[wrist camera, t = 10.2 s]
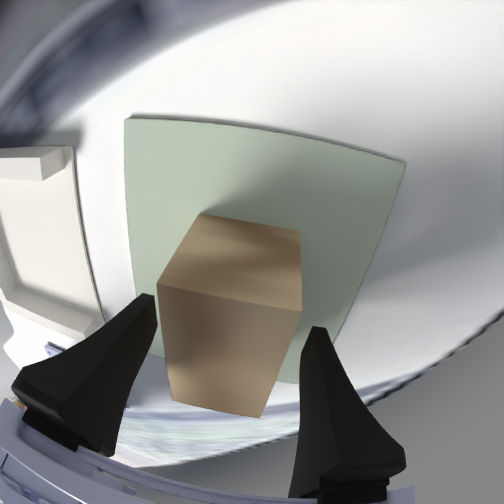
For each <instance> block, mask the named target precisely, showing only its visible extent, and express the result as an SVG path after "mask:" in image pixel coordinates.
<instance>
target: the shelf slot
mask: <svg viewBox="0 0 504 504" xmlns="http://www.w3.org/2000/svg"><path fill="white" fill-rule="evenodd" d="M0 299H1V301H2V304H3V306H5V307H6V308H8V309H10V310H12V311H14V312H16V313H18V314H20V315H22V316H24V317H26V318H28V319H30V320H32V321H34V322H36V323H39V324H41V325H43V326H45V327H47V328H50V329H52V330H54V331H57V332H59V333H61V334H64V335H66V336H68V337H71V338H73V339H76V340H78V341H82V340H84V339H86V338H87V337H89V336H90V335H91V334H93V333H94V332H96V330H97V329H98V327H100V328H101V327H102V326H103V325H105V321H104V318H103V315H102V311H101V308H100V304H99V301H98V297H97V294H96V290H95V286H94V282H93V278H92V274H91V269H90V265H89V260H88V256H87V251H86V246H85V241H84V235H83V230H82V224H81V218H80V211H79V204H78V196H77V188H76V178H75V167H74V154H73V146H36V147H15V148H0Z"/></svg>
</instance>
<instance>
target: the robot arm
mask: <svg viewBox="0 0 504 504" xmlns="http://www.w3.org/2000/svg"><path fill="white" fill-rule="evenodd" d="M157 327H158V321H157V313H156V305H155V297H154V295H150V294H146V293H141V294H140V295H139V296H138V297H137V298H136V299H134V300H133V301H132V302H131V303H130V304H129V305H128V306H126V307H125V308H124V309H123V310H122V311H121V312H119V313H118V314H117V315H116V316H115V317H113V318H112V319H111V320H110V321H109V322H107V323H106V324H105V325H103V326H102V327H101V328H100V329H98V330H97V331H96V332H94V333H93V334H91V335H90V336H89V337H87V338H86V339H84V340H82V341H81V342H79V343H78V344H76V345H74V346H72V347H71V348H69V349H67V350H65V351H61V350H58V349H56V348H54V347H52V346H50V345H47V344H46V345H45V346H44V348H45V350H46V352H47V353H48V355H49V357H50V358H48V359H45V360H43V361H40V362H37V363H34V364H31V365H28V366H25V367H23V368H22V369H21V371H20V373H19V374H18V376H17V377H16V379H15V381H14V383H13V384H12V386H11V388H12V391H13V392H14V394H15V395H16V396H17V397H18V398H19V399H20V400H21V401H22V403H23V404H24V405H25V406H26V407H27V409H26V411H24V410H22V409H21V408H20V407H18V406H17V405H15V404H14V403H13V402H11V401H10V400H8V399H7V398H5V399H4V401H3V402H2V404H1V406H0V500H1V502H2V504H157V503H154V502H151V501H147V500H144V499H141V498H138V497H135V495H136V490H135V489H133V488H131V487H129V486H127V485H125V484H124V483H123V482H121V481H118V480H116V479H114V478H112V477H110V476H108V475H105V474H103V472H102V471H104V472H107V473H109V474H112V475H114V476H116V477H119V478H121V479H124V480H127V481H129V482H132V483H135V484H138V485H141V486H144V487H147V488H150V489H153V490H156V491H160V492H163V493H166V494H170V495H174V496H177V497H182V498H186V499H190V500H194V501H199V502H203V503H208V504H415V490H414V486H408V487H403V488H397V489H392V490H388V491H387V489H386V486H388V485H389V478H390V477H392V476H394V475H396V474H398V473H400V472H401V471H403V470H404V469H405V468H406V458H405V452H404V449H403V447H402V446H401V445H400V444H398V443H397V442H396V441H395V440H394V439H393V438H392V437H391V436H390V435H389V434H388V433H387V432H386V431H385V430H384V429H383V428H382V427H381V426H380V424H379V423H378V422H377V420H376V419H375V418H374V417H373V415H372V414H371V413H370V412H369V410H368V409H367V407H366V406H365V405H364V403H363V402H362V400H361V399H360V397H359V395H358V394H357V392H356V391H355V389H354V387H353V385H352V384H351V382H350V380H349V378H348V376H347V374H346V372H345V370H344V368H343V366H342V364H341V362H340V360H339V358H338V356H337V353H336V351H335V349H334V346H333V344H332V341H331V339H330V336H329V334H328V331H327V329H326V328H325V327H317V326H312V328H311V331H310V333H309V335H308V338H307V340H306V342H305V345H304V347H303V349H302V352H301V356H300V368H299V390H300V426H299V436H298V444H297V452H296V458H295V465H294V471H293V476H292V481H291V486H290V490H289V494H288V498H276V497H263V496H254V495H245V494H237V493H230V492H225V491H219V490H213V489H208V488H203V487H198V486H194V485H190V484H186V483H182V482H177V481H174V480H170V479H166V478H163V477H160V476H156V475H153V474H150V473H147V472H144V471H141V470H138V469H135V468H132V467H130V466H127V465H124V464H122V463H119V462H117V461H114V460H112V459H109V458H107V457H111V456H113V455H114V454H115V448H116V442H117V437H118V432H119V428H120V424H121V420H122V416H123V413H124V412H126V408H125V406H126V402H127V399H128V396H129V393H130V390H131V387H132V385H133V382H134V380H135V378H136V376H137V374H138V372H139V369H140V367H141V365H142V363H143V361H144V359H145V357H146V355H147V353H148V351H149V349H150V347H151V345H152V342H153V339H154V336H155V333H156V330H157ZM102 455H103V456H102ZM104 456H105V457H104Z"/></svg>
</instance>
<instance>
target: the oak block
mask: <svg viewBox="0 0 504 504" xmlns="http://www.w3.org/2000/svg"><path fill="white" fill-rule="evenodd" d="M156 286H157V296H158V306H159V315H160V324H161V332H162V339H163V347H164V353H165V360H166V366H167V373H168V378H169V384H170V390H171V395H172V400H173V401H177V402H180V403H184V404H188V405H193V406H197V407H201V408H206V409H210V410H215V411H220V412H225V413H230V414H236V415H242V416H248V417H254V418H260V416H261V414H262V412H263V409H264V407H265V405H266V402H267V400H268V398H269V395H270V393H271V391H272V388H273V386H274V383H275V381H276V379H277V376H278V374H279V371H280V369H281V366H282V364H283V361H284V359H285V356H286V354H287V351H288V348H289V346H290V343H291V341H292V338H293V335H294V333H295V330H296V327H297V325H298V322H299V319H300V316H301V314H302V279H301V251H300V231H296V230H291V229H285V228H280V227H275V226H269V225H264V224H259V223H253V222H247V221H242V220H236V219H230V218H225V217H219V216H213V215H207V214H201V213H199V214H198V216H197V217H196V219H195V221H194V222H193V224H192V225H191V227H190V228H189V230H188V232H187V233H186V235H185V236H184V238H183V240H182V241H181V243H180V244H179V246H178V248H177V249H176V251H175V253H174V254H173V256H172V258H171V259H170V261H169V263H168V264H167V266H166V268H165V269H164V271H163V273H162V274H161V276H160V278H159V279H158V281H157V283H156Z"/></svg>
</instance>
